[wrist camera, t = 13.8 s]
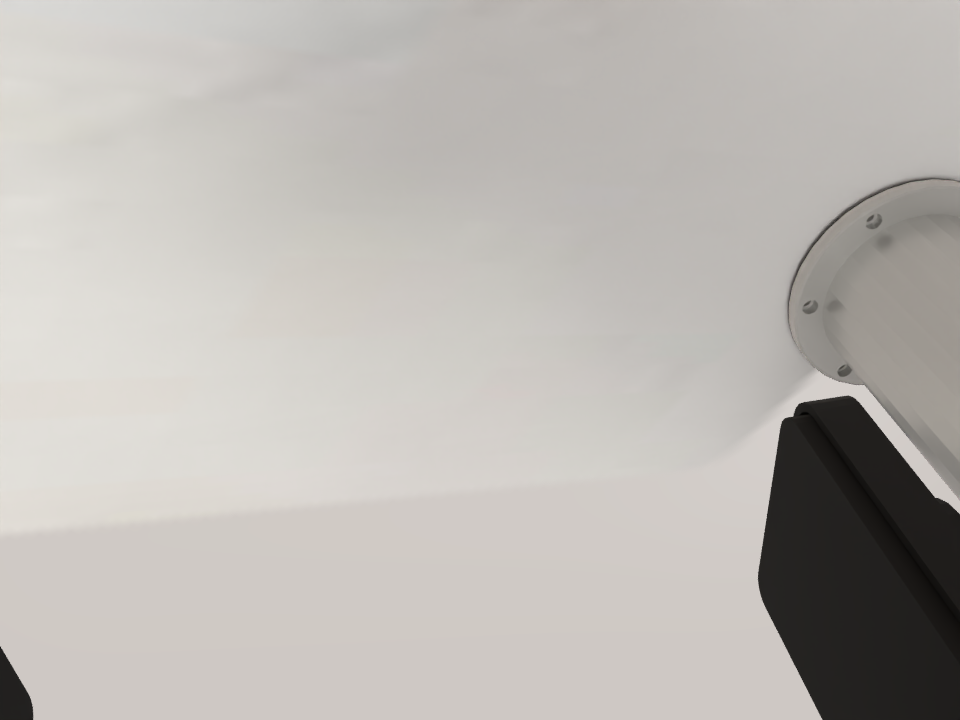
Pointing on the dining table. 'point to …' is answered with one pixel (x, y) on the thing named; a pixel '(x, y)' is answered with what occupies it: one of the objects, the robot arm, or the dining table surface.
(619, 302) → the dining table surface
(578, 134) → the dining table surface
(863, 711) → the robot arm
